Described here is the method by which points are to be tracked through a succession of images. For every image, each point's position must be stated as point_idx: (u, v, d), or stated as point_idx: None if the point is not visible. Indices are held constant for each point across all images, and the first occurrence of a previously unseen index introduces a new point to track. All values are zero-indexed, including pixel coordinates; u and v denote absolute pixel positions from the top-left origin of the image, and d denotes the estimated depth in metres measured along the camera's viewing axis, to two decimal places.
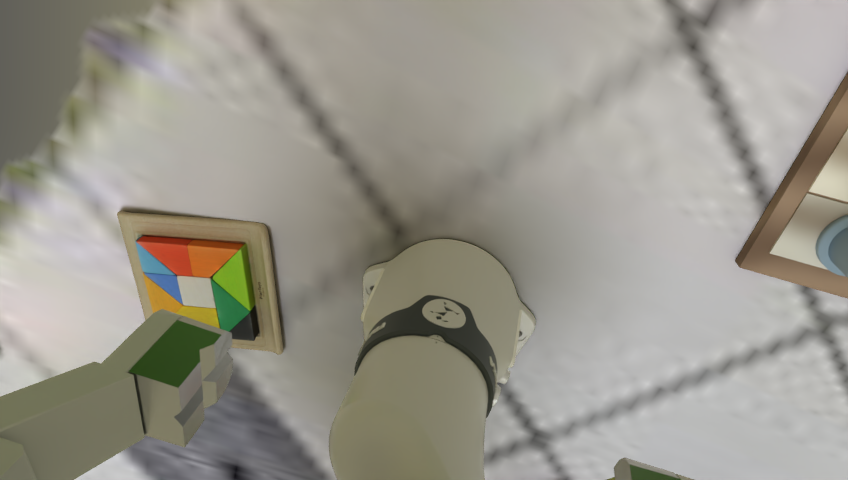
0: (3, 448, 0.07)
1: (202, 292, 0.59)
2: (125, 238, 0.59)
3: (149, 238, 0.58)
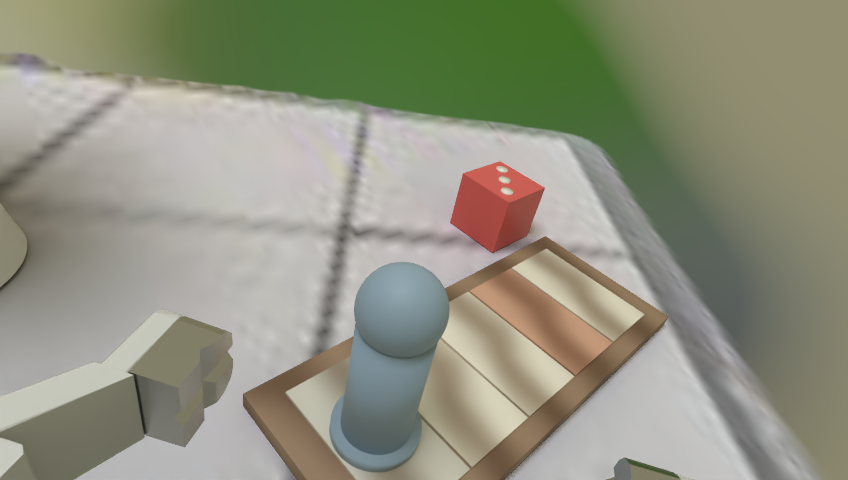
0: (2, 448, 0.07)
1: None
2: None
3: None
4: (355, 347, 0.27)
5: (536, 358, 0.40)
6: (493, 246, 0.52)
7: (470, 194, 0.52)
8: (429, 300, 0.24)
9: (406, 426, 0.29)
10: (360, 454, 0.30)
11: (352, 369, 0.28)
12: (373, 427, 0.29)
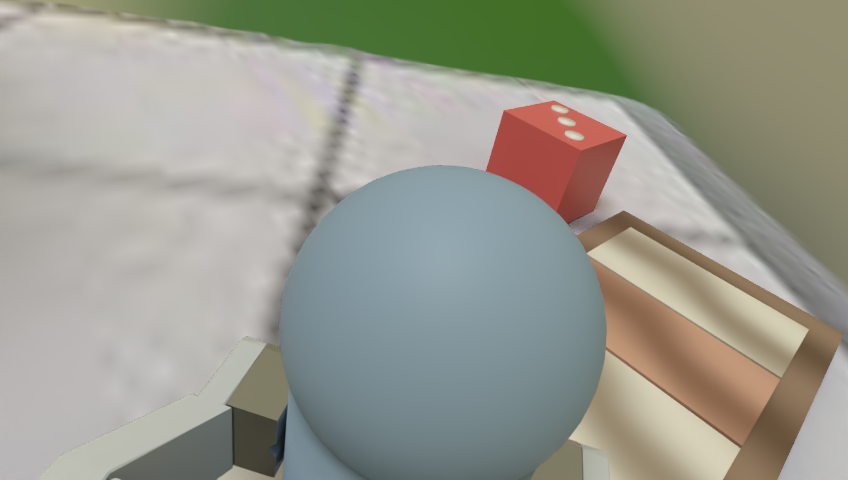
0: None
1: None
2: None
3: None
4: (289, 444, 0.08)
5: (664, 412, 0.21)
6: None
7: (514, 143, 0.34)
8: (563, 288, 0.06)
9: None
10: None
11: None
12: None
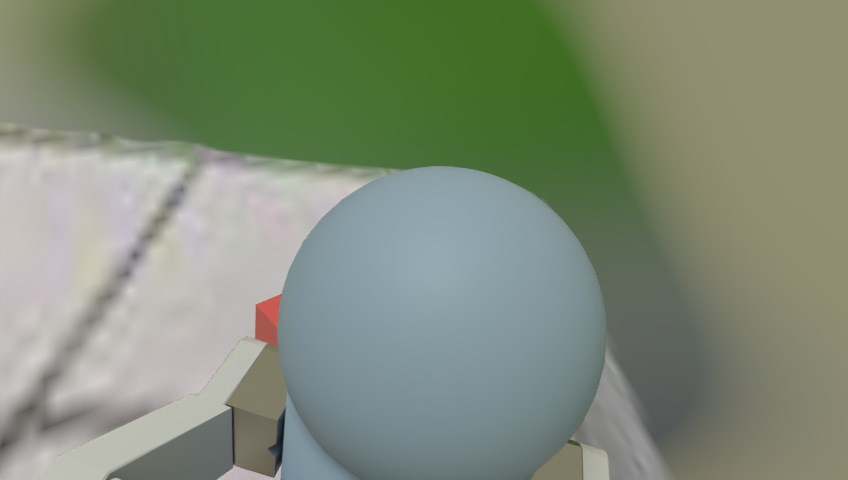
0: None
1: None
2: None
3: None
4: (287, 446, 0.08)
5: None
6: None
7: (270, 342, 0.29)
8: (562, 291, 0.06)
9: None
10: None
11: None
12: None
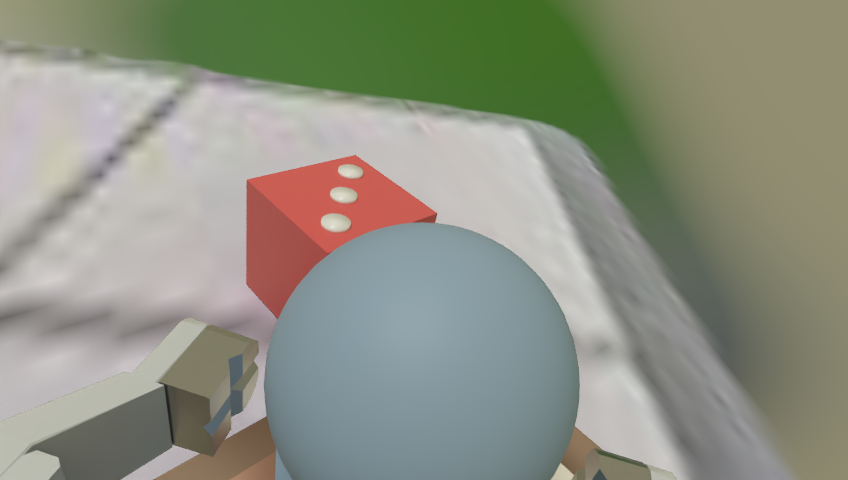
0: (39, 461, 0.07)
1: None
2: None
3: None
4: None
5: None
6: None
7: (264, 228, 0.23)
8: (531, 358, 0.06)
9: None
10: None
11: None
12: None
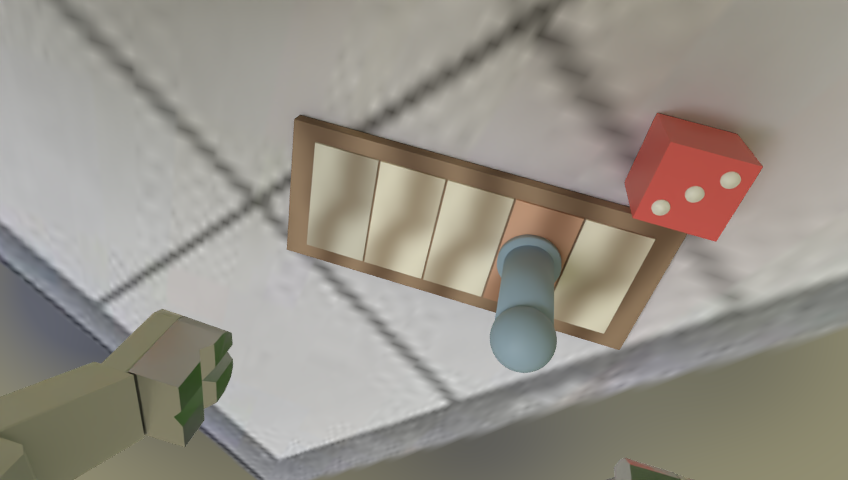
0: (2, 448, 0.07)
1: None
2: None
3: None
4: (501, 303, 0.40)
5: (477, 270, 0.48)
6: (625, 185, 0.42)
7: (656, 153, 0.36)
8: (514, 370, 0.37)
9: None
10: (501, 268, 0.47)
11: (503, 291, 0.41)
12: None
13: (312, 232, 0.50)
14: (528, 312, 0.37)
